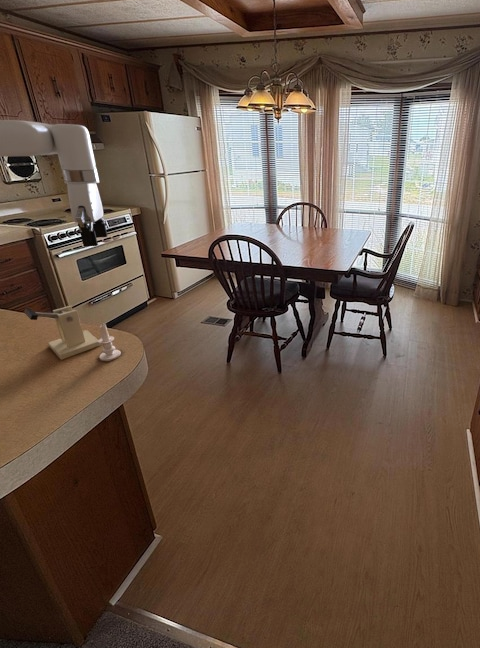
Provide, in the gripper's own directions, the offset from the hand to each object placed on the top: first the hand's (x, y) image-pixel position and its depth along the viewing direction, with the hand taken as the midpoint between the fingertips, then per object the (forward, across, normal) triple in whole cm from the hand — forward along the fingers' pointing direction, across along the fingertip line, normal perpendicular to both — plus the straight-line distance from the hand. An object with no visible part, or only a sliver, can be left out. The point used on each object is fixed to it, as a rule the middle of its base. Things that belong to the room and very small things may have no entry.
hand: (96, 241), depth 95 cm
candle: (+31, +11, 0) cm, 33 cm away
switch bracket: (+31, +3, -11) cm, 33 cm away
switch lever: (+20, +5, -14) cm, 25 cm away
